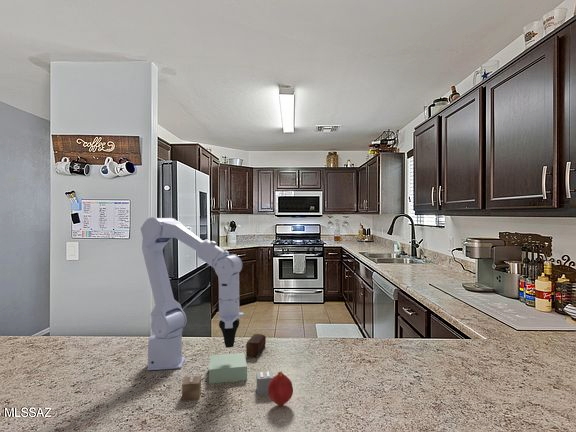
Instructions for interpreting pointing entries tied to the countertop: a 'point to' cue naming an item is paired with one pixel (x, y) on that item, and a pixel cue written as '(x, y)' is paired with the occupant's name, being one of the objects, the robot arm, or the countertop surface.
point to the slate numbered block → (263, 381)
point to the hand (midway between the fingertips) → (229, 346)
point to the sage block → (227, 368)
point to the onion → (280, 389)
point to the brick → (255, 345)
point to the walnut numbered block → (191, 388)
